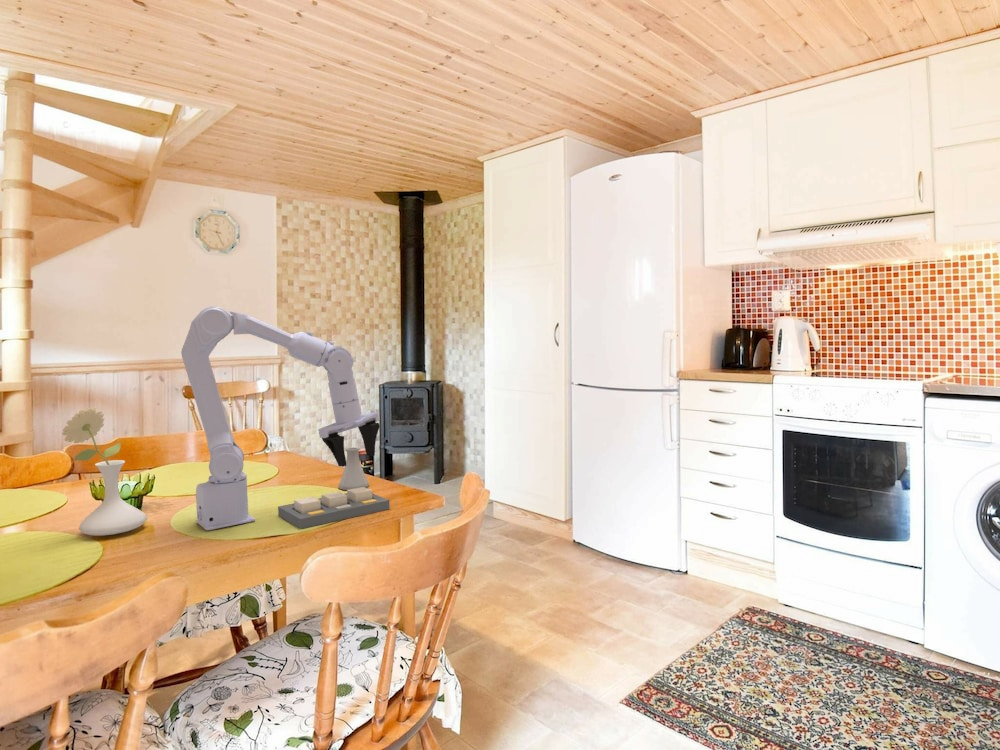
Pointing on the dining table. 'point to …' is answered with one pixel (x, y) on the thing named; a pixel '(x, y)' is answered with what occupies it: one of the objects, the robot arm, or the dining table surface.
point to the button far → (359, 494)
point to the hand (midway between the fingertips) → (356, 460)
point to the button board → (332, 512)
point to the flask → (353, 472)
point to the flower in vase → (113, 509)
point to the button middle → (334, 499)
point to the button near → (307, 505)
